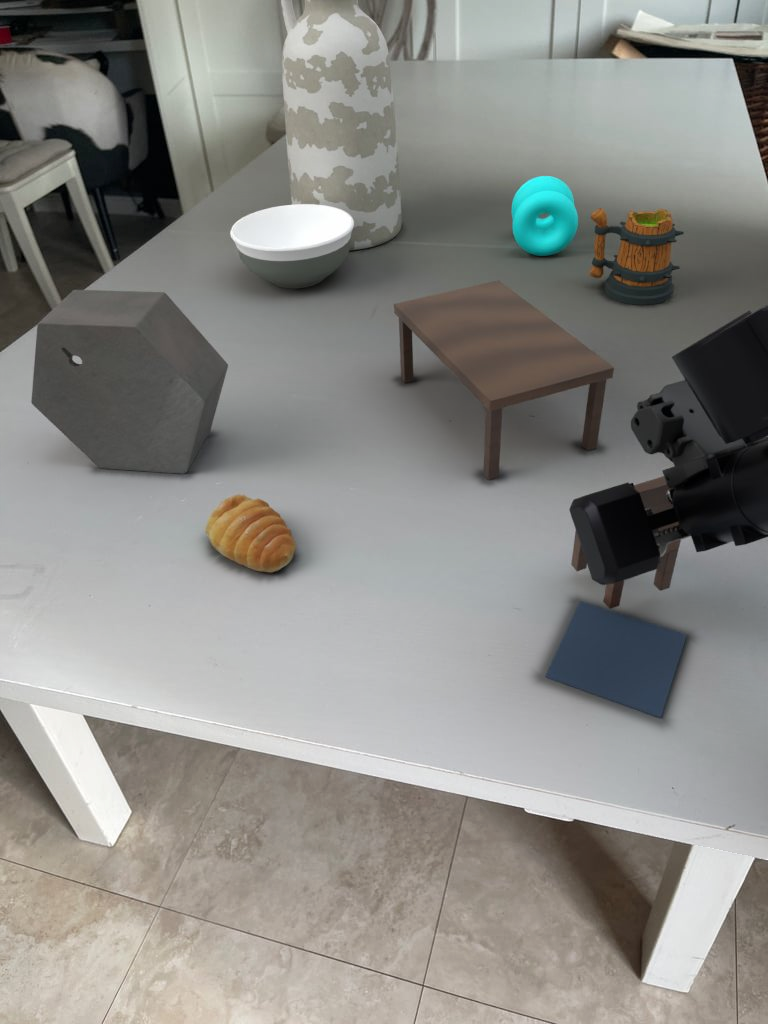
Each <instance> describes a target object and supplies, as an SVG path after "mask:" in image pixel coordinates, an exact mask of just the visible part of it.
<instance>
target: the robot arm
mask: <svg viewBox="0 0 768 1024" xmlns="http://www.w3.org/2000/svg"><path fill="white" fill-rule="evenodd" d="M671 359H672V360H673V363H675V365H676V367H677V369H678V371H679V372H680V374H681V375H682V377H683V380H681V381H677V382H673V383H670V384H667V385H665V386H663V387H662V389H661V390H660V391H659V392H658V393H652V394H651V395H650V396H649V397H648V398H647V399H644V400H639V401H638V402H637V405H636V409H637V410H636V412H635V413H634V415H633V416H632V418H631V420H630V430H631V431H632V433H633V434H634V437H635V438H636V439H637V441H638V443H639V444H640V446H641V448H642V449H643V451H644V453H646V454H648V455H655V454H659V453H660V454H663V455H664V456H665V458H666V459H668V460H669V461H670V462H671V463H673V465H674V466H671V467H668V468H666V469H663V470H662V471H661V472H662V474H663V476H664V477H665V480H666V483H667V486H668V487H669V488H672V487H674V488H673V489H670V490H668V491H667V492H666V495H667V498H668V501H669V502H670V503H671V504H673V508H670V509H667V510H664V511H660V512H657V513H654V514H653V512H652V509H651V508H648V509H645V508H644V505H643V502H642V499H641V496H640V493H639V492H638V491H637V490H636V489H635V487H634V485H635V483H634V482H631V483H630V482H625V483H621V484H618V485H615V486H612V487H608V488H606V489H602V490H599V491H595V492H591V493H589V494H586V495H583V496H580V497H577V498H574V499H572V502H571V504H570V506H569V509H568V510H569V513H570V516H571V519H572V520H571V521H572V523H573V525H574V528H575V531H576V532H577V535H578V538H579V541H580V544H581V547H582V550H583V553H584V556H585V559H586V562H587V568H588V570H589V573H590V576H591V579H592V580H593V581H594V582H596V583H597V584H599V585H601V586H606V584H615V583H618V582H621V581H624V582H625V581H626V580H629V579H633V578H636V577H638V576H641V575H644V574H647V573H650V572H653V571H656V570H657V568H658V564H659V563H660V561H659V559H660V557H662V556H663V555H664V554H665V553H666V550H667V545H668V544H669V543H672V542H675V541H678V540H681V541H682V540H684V539H687V538H690V537H691V540H692V543H693V546H694V549H695V552H696V553H700V552H701V553H702V552H706V551H709V550H712V549H715V548H719V547H721V546H724V545H727V544H731V543H732V542H733V543H734V546H735V547H738V546H745V545H748V544H751V543H754V542H757V541H761V540H763V539H766V538H768V303H767V304H765V305H763V306H761V307H759V308H758V309H755V310H754V311H751V309H749V310H747V311H746V312H744V313H743V314H741V315H739V316H737V317H736V318H734V319H732V320H730V321H729V322H727V323H725V324H724V325H722V326H720V327H719V328H717V329H715V330H713V331H712V332H710V333H708V334H706V335H705V336H704V337H702V338H700V339H699V340H697V341H696V342H693V343H692V344H690V345H689V346H687V347H685V348H684V349H682V350H680V351H679V352H677V353H676V354H674V355H673V356H671ZM676 522H678V523H679V525H677V526H673V529H672V527H670V528H668V530H667V529H664V530H663V531H659V530H658V528H661V527H664V526H667V525H670V524H673V523H676ZM657 534H658V536H654V535H657Z"/></svg>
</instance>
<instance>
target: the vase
mask: <svg viewBox="0 0 768 1024" xmlns="http://www.w3.org/2000/svg"><path fill="white" fill-rule="evenodd" d="M303 2H304V11H303V13H302V15H301V16H299V18H298V19H297V17H296V12H295V10H294V5H293V0H280V3H281V4H280V5H281V10H282V17H283V20H284V21H283V22H284V25H285V29H286V34H287V35H286V37H285V40H284V43H283V46H282V52H281V53H282V54H281V55H282V56H281V74H282V75H281V76H282V90H283V91H282V93H283V109H284V122H285V123H284V124H285V139H286V153H287V164H288V177H289V187H290V199H291V205H296V204H315V205H325V206H330V207H335V208H338V209H341V210H343V211H345V212H347V213H348V214H349V215H350V216H351V217H352V218H353V220H354V227H353V230H352V232H351V239H350V250H349V251H356V250H357V251H358V250H363V249H368V248H372V247H377V246H380V245H382V244H385V243H387V242H390V241H391V240H393V239H394V238H395V237H396V236H398V235H399V234H400V232H401V229H402V224H403V222H402V221H403V218H402V198H401V197H402V196H401V180H400V179H401V178H400V164H399V163H400V162H399V161H400V160H399V149H398V136H397V123H396V111H395V100H394V89H393V79H392V69H391V68H392V67H391V61H390V60H391V58H390V52H389V48H388V44H387V40H386V38H385V36H384V35H383V32H382V30H381V28H380V27H379V26H378V24H377V23H376V22H375V21H374V20H373V19H372V18H371V17H370V16H369V15H367V13H365V12H364V11H363V10H362V9H361V7H360V5H359V0H303Z"/></svg>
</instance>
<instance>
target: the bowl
mask: <svg viewBox="0 0 768 1024" xmlns="http://www.w3.org/2000/svg"><path fill="white" fill-rule="evenodd" d="M353 227H354V220H353V218H352V217H351V216H350V215H349V214H348V213H347V212H345V211H343V210H341V209H338V208H335V207H330V206H325V205H315V204H296V205H292V204H285V205H278V206H272V207H267V208H265V209H260V210H257V211H255V212H252V213H249V214H247V215H245V216H243V217H241V218H240V219H238V220H237V221H236V222H235V223H233V225H231V228H230V231H229V233H230V238H231V239H232V240H233V242H234V244H235V246H236V248H237V252H238V255H239V258H240V260H241V262H242V263H243V264H244V265H245V267H246V268H247V269H248V270H249V272H251V273H253V274H254V275H255V276H257V277H259V278H260V279H262V280H265V281H266V282H270V283H272V284H274V286H277V287H279V288H282V289H303V288H309V287H312V286H315V285H318V284H320V283H321V282H323V280H325V278H327V277H329V276H330V275H331V274H333V273H334V272H335V271H336V270H338V269H339V268H340V266H342V265H343V263H344V262H345V260H346V259H347V257H348V254H349V252H350V251H351V250H350V239H351V232H352V230H353Z"/></svg>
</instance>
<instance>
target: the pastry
mask: <svg viewBox="0 0 768 1024" xmlns="http://www.w3.org/2000/svg"><path fill="white" fill-rule="evenodd" d="M205 533H206V535H207V537H208V540H209V542H210V544H211V546H212V547H213V548H214V549H215V550H216V551H217V552H218V553H219V554H221V556H223V557H225V558H227V559H229V561H233V562H234V563H236V564H238V565H239V566H244V567H246V568H248V569H250V570H253V571H257V572H264V573H265V572H266V573H274V572H278V571H279V570H281V569H282V568H285V567H286V566H288V565H289V563H291V562H292V560H293V558H294V555H295V552H296V548H297V545H298V544H297V543H296V541H295V539H294V537H293V536H292V531H291V529H290V528H288V526H287V523H286V522H285V520H284V519H283V517H282V516H281V514H280V513H279V512H277V511H276V510H275V509H274V508H273V507H271V506H270V504H269V503H268V502H267V501H264V500H262V499H261V498H255V499H253V498H250V497H248V496H247V495H245V494H235V495H232V496H229V497H228V498H226V499H224V500H223V501H221V502H220V503H219V504H218V506H217V507H216V508H215V509H214V510H213V511H212V512H211V514H210V516H209V518H208V521H207V523H206V526H205Z"/></svg>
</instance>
